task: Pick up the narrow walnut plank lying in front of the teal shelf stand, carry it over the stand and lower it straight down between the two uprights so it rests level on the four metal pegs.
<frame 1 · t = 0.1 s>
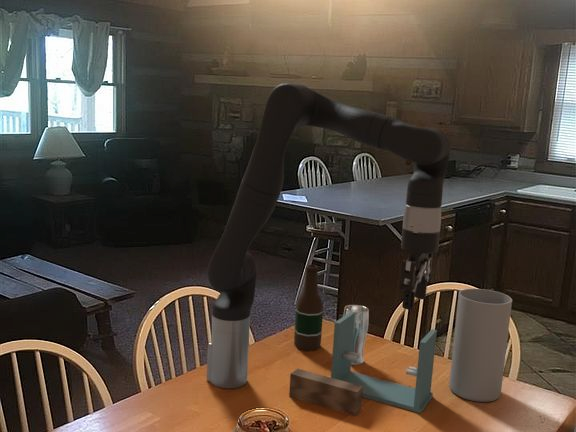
hand: (414, 303, 130), 29 cm above the table, tool pointing down, fingers open, 8 cm apart
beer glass: (352, 361, 172), on the table
shelf stand: (379, 391, 154), on the table
beer bottle: (307, 346, 181), on the table
walnut plank: (324, 403, 147), on the table
cylinder vase: (474, 392, 157), on the table
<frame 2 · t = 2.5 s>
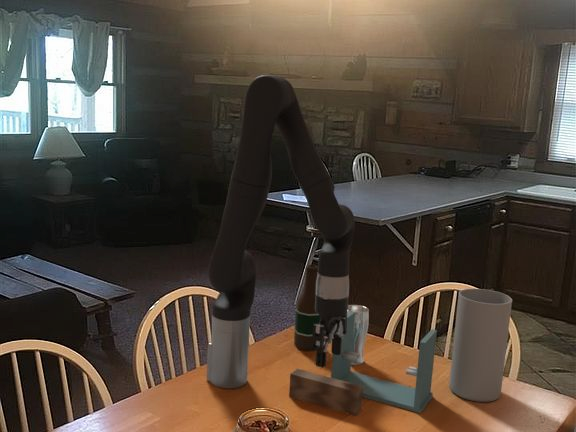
hand: (328, 360, 145), 11 cm above the table, tool pointing down, fingers open, 8 cm apart
nothing on the table moved.
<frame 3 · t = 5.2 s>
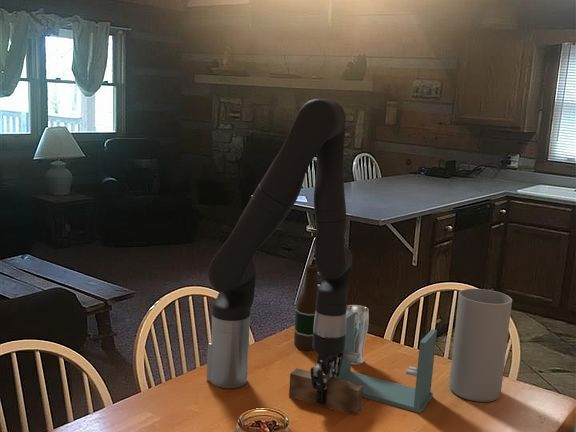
hand: (325, 399, 147), 1 cm above the table, tool pointing down, fingers closed on walnut plank, 3 cm apart
walnut plank: (324, 403, 147), on the table, touching gripper
everything else where it was.
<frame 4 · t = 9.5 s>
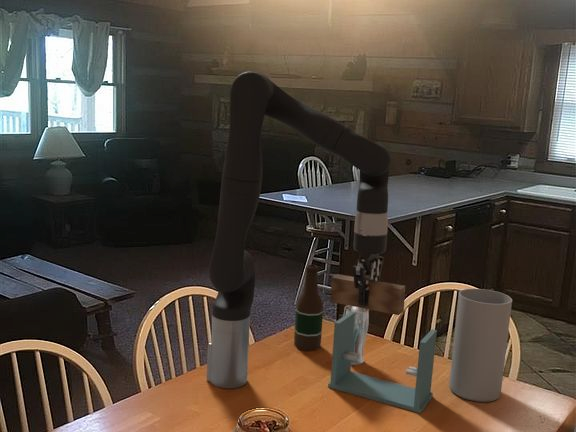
hand: (366, 302, 146), 24 cm above the table, tool pointing down, fingers closed on walnut plank, 3 cm apart
walnut plank: (366, 306, 147), point 23 cm above the table, touching gripper
everything else where it was.
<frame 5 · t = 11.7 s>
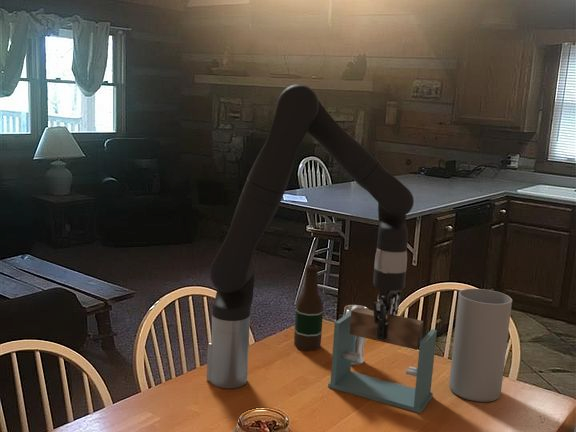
hand: (384, 336, 151), 15 cm above the table, tool pointing down, fingers closed on walnut plank, 3 cm apart
walnut plank: (384, 339, 151), point 14 cm above the table, touching gripper
everything else where it was.
when the fingers open (10 cm above the table, at t = 13.7 s): walnut plank stays where it is, resting on shelf stand.
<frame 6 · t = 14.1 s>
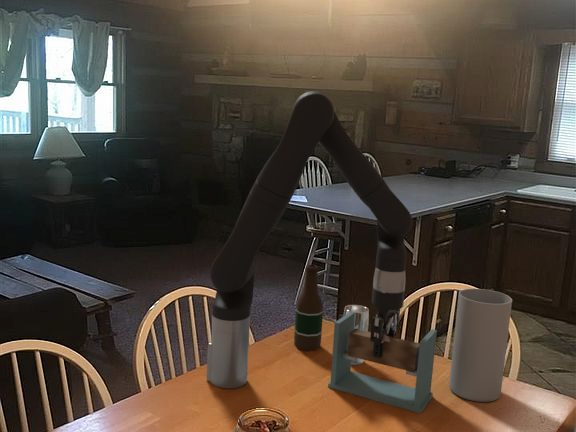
hand: (383, 351, 152), 11 cm above the table, tool pointing down, fingers open, 7 cm apart
walnut plank: (382, 361, 153), point 8 cm above the table, touching shelf stand
everything else where it was.
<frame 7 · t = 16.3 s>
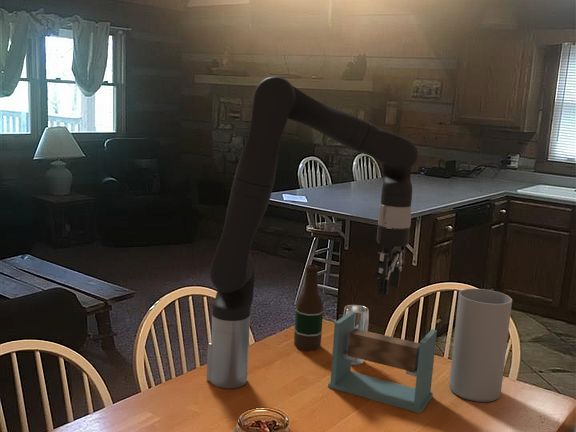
hand: (388, 290, 149), 26 cm above the table, tool pointing down, fingers open, 8 cm apart
nothing on the table moved.
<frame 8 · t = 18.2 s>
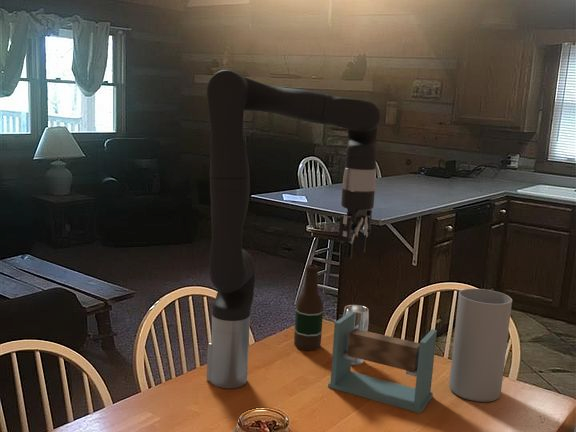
hand: (353, 255, 148), 34 cm above the table, tool pointing down, fingers open, 8 cm apart
nothing on the table moved.
at the end: walnut plank 0.1 cm off-centre on the shelf stand, point 8.0 cm above the shelf stand's base; walnut plank tilted 0°; the gripper is holding nothing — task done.
